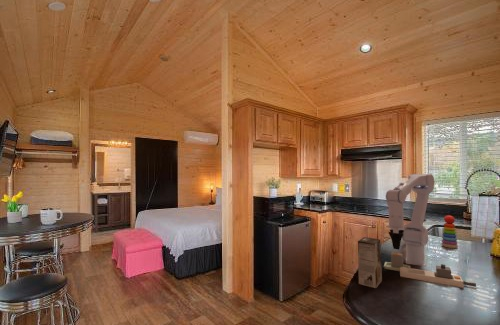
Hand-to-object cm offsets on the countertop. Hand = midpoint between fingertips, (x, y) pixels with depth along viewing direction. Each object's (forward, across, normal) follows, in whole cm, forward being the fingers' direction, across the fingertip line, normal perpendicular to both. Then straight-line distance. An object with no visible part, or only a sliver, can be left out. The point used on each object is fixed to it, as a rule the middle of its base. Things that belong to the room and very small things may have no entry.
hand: (396, 247), depth 115 cm
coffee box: (+10, +23, -8) cm, 27 cm away
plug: (+9, 0, 0) cm, 9 cm away
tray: (+10, 0, 0) cm, 10 cm away
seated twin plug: (+10, +8, +16) cm, 20 cm away
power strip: (+9, +7, +13) cm, 18 cm away
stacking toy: (+8, -64, +26) cm, 70 cm away
